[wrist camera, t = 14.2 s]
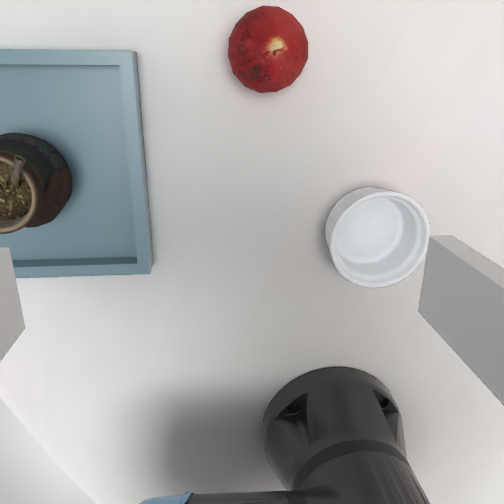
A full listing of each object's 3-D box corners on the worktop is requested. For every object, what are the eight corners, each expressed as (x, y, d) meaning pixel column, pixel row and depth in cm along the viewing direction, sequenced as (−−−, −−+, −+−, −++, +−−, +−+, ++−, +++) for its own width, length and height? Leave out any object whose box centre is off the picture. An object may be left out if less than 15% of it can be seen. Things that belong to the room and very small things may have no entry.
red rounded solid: (260, 106, 38) (273, 112, 31) (211, 52, 36) (212, 45, 29) (311, 54, 37) (337, 48, 30) (263, -4, 35) (278, -26, 28)
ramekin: (387, 279, 45) (404, 299, 41) (305, 256, 44) (315, 274, 40) (425, 196, 43) (448, 208, 39) (340, 168, 41) (354, 178, 37)
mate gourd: (-28, 184, 38) (-105, 216, 28) (16, 106, 36) (-51, 113, 27) (53, 231, 40) (6, 276, 30) (97, 160, 38) (62, 183, 29)
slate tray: (153, 263, 42) (150, 273, 40) (-51, 269, 41) (-66, 280, 38) (136, 52, 36) (131, 50, 34) (-106, 50, 34) (-128, 48, 32)
